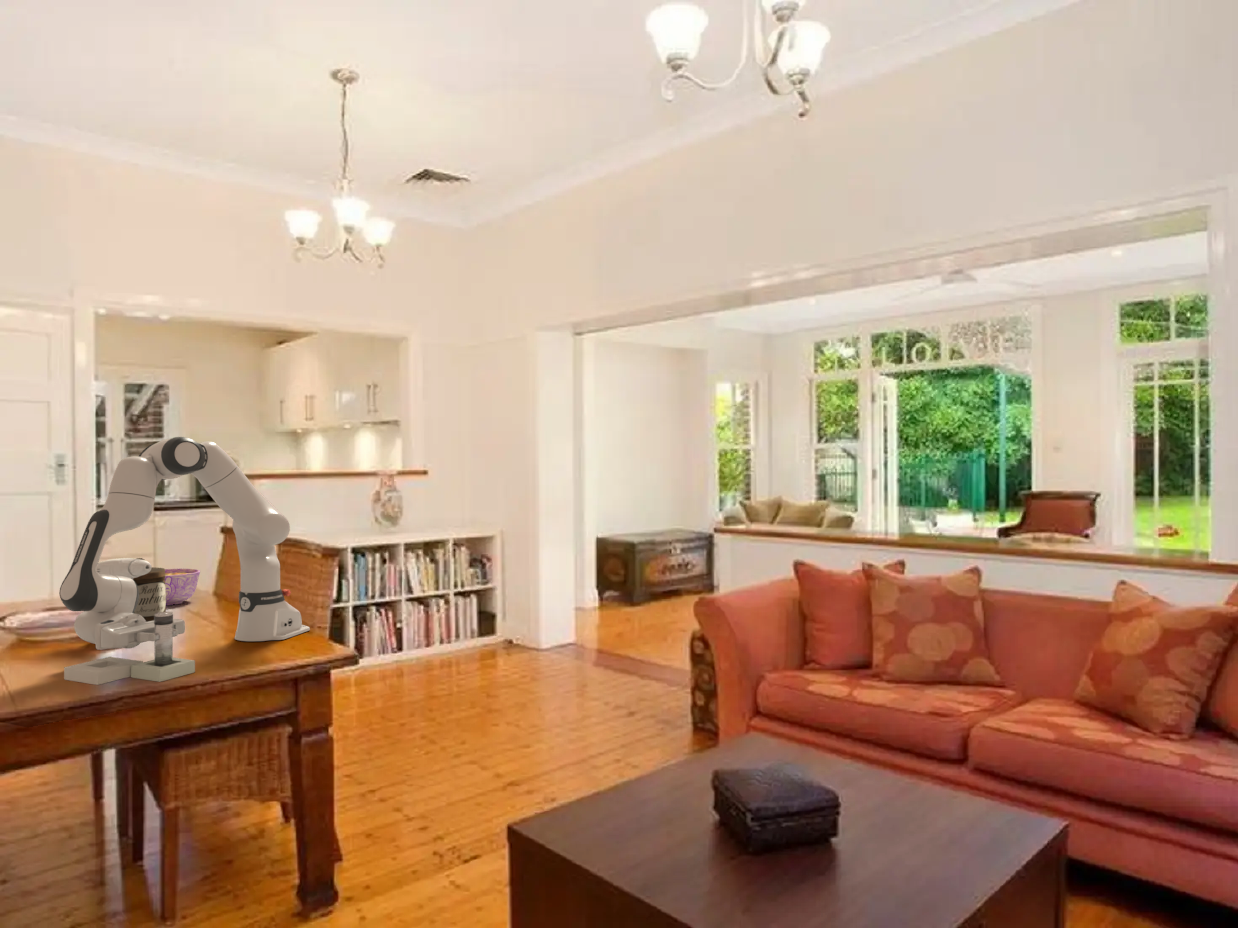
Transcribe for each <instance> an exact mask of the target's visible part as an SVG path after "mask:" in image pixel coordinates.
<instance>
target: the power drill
mask: <svg viewBox="0 0 1238 928" xmlns="http://www.w3.org/2000/svg"><path fill="white" fill-rule="evenodd" d="M151 568H152V564H151V562H149V561H148V560H140V559H136V558H132V557H121V558H120V557H119V558H112V559H111V558H110V559H106V560H103V561H102V560H101V561H100V562H98V565H97V567H96V572H97V573H98V574H106V575H116V576H124V577H130V578H132V579H133V578H136V577H139V576H142V575H145V574H147V573H149V572H150V571H151Z"/></svg>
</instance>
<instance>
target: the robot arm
mask: <svg viewBox="0 0 1238 928" xmlns="http://www.w3.org/2000/svg"><path fill="white" fill-rule="evenodd" d="M186 475H192V476H193V477H194V478H195V479H197V480H198V482H199V483H200V484H201V486H202V487H203V488H204V490H205V491H206V492H207V494H208V495H209V496H210V497H211V498H212V500H213V501H214V502H215V503H216V505H217V506H218V507H219V508H220V509H221V510H222V511H223V512H225V514H227V516H229V517H230V518H231V519H232V520H233V521H232V523H231V524H232V525H231V528H232V530H233V533H234V534H235V535H234V536H235V540H236V541H235V542H236V547H237V552H238V557H239V558H238V559H239V566H240V567H239V568H240V591H238V604H239V610H238V620H237V627H236V631H235V634H234V635H235V636H234V640H237V641H239V642H240V641H241V642H265V641H281V640H285V639H289V638H293V637H295V636H298V635H300V634H303V633H305V632H308V631H310V630H311V629H310V626H307V625H305V624H303V621H302V614H301V612H300V611H299V610H298V609H297V608H295V607H294V606H292V605H291V604H289V602H287V601H286V599H285V596H286V597H290V596H291V593H292V590H290V589H286V588H285V589H284V588H283V589H282V588H281V564H280V560H279V559H278V555H277V551H276V550H277V549H276V545H279V544H281V543H283V542H284V541H285V540H286V539H287V538H288V536H289V534H290V531H291V529H290V528H291V527H290V523H289V522H290V521H289V520H288V518H287V517H286V516H285V515H283V514H282V513H281V512H280V511H279V510H278V509H277V508H276V507H275V506H274V505H273V504H272V503H271V502H270V500H269V499H268V498H267V497H265V496H264V495H263V494H262V493H261V492H260V490H258V489H257V488H256V487H255V486H254V484H253V483H252V482H251V481H250V480H249V478H248V477H247V476H246V475H245V473H244V471H243V470H242V469H241V468H240V467H239V466H238V464H237V463H236V462H235V460H234V459H233V458H232V457H231V456H230V454H228V453H227V452H226V451H225V450H224V449H223V448H222V447H221V446H219V445H218V443H216V442H213V441H210V440H208V441H202V442H197V441H196V440H195V439H192V438H188V437H186V436H175V437H170V438H166V439H162V440H159V441H158V442H156V443H151V444H150V445H148V446H146V448H144V449H143V450H142V452H140V454H138V455H133V456H127V457H124V458H122V459H121V460H120V461H119V462H118V464H117V466H116V468H115V470H114V473H113V475H112V478H111V482H110V485H109V490H108V494H107V498H106V501H105V503H104V505H102V507H101V509H100V510H98V511H96V512H94V513H93V514H92V516H90V518H89V520H88V522H87V524H86V527H85V529H84V532H83V534H82V537H81V540H80V542H79V545H78V548H77V550H76V553H75V555H74V558H73V561H72V563H71V566H70V568H69V570H68V572H67V574H66V575H65V577H64V579H63V581H62V582H61V585H60V588H59V597H60V601H61V602H62V604H63V605H64V607H65V608H67V610H69V611H70V612H81V613H79V614H78V616H77V617H76V618H75V620H74V623H73V627H74V632H75V634H76V635H77V636H78V637H79V639H81V640H83V641H85V642H87V643H90V644H95V649H96V650H99V651H103V650H105V651H106V650H109V649H110V650H111V649H113V650H115V649H134V648H136V647H138V646H139V645H140V644H142V643H146V642H147V643H148V642H154V641H157V640H159V633H154V628H155V624H154V620H153V621H148V622H146V620H145V619H144V618H143V617H142V616H141V615H139V614H134V611H135V609H136V607H137V604H138V600H139V590H138V586H137V584H136V583H135V581H134V580H133V579H132V578H130V577H124V576H116V575H106V574H98V573H97V572H96V567H97V565H98V563H99V561H100V559H101V556H102V553H103V550H104V548H105V545H106V543H107V541H108V540H109V539H110V538H111V537H112V536H113V535H116V534H118V533H122V532H127V531H131V530H134V529H138V528H140V527H142V526H143V525H144V524H146V522H148V521H149V520H150V518H151V516H152V514H153V510H154V505H155V500H156V499H155V498H156V494H157V488H158V485H159V484H160V482H161V481H165V480H172V479H173V480H174V479H177V478H180V477H182V476H186ZM185 631H186V622H185V620H184V619H179V618H173V638H174V637H178V635H181V634H184V633H185Z"/></svg>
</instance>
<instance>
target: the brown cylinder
mask: <svg viewBox="0 0 1238 928" xmlns="http://www.w3.org/2000/svg"><path fill="white" fill-rule="evenodd" d="M135 559H140V560H145V559H144V558H143V557H139V558H138V557H137V558H135ZM165 569H166V568H163V567H152V568H151V571H150V572H149V573H147V574H145V575H142V576H139V577H136V578H133V580H134V581H135V583H136V584H137V586H138V590H139V600H138V604H137V607H136V609H135V611H134V614H139V615H141V616H142V617H143V618H144V619H145V620H146V622H148V621H153V620H154V615H155V613H159V612H167V611H166V610H167V605H166V593H165Z"/></svg>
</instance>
